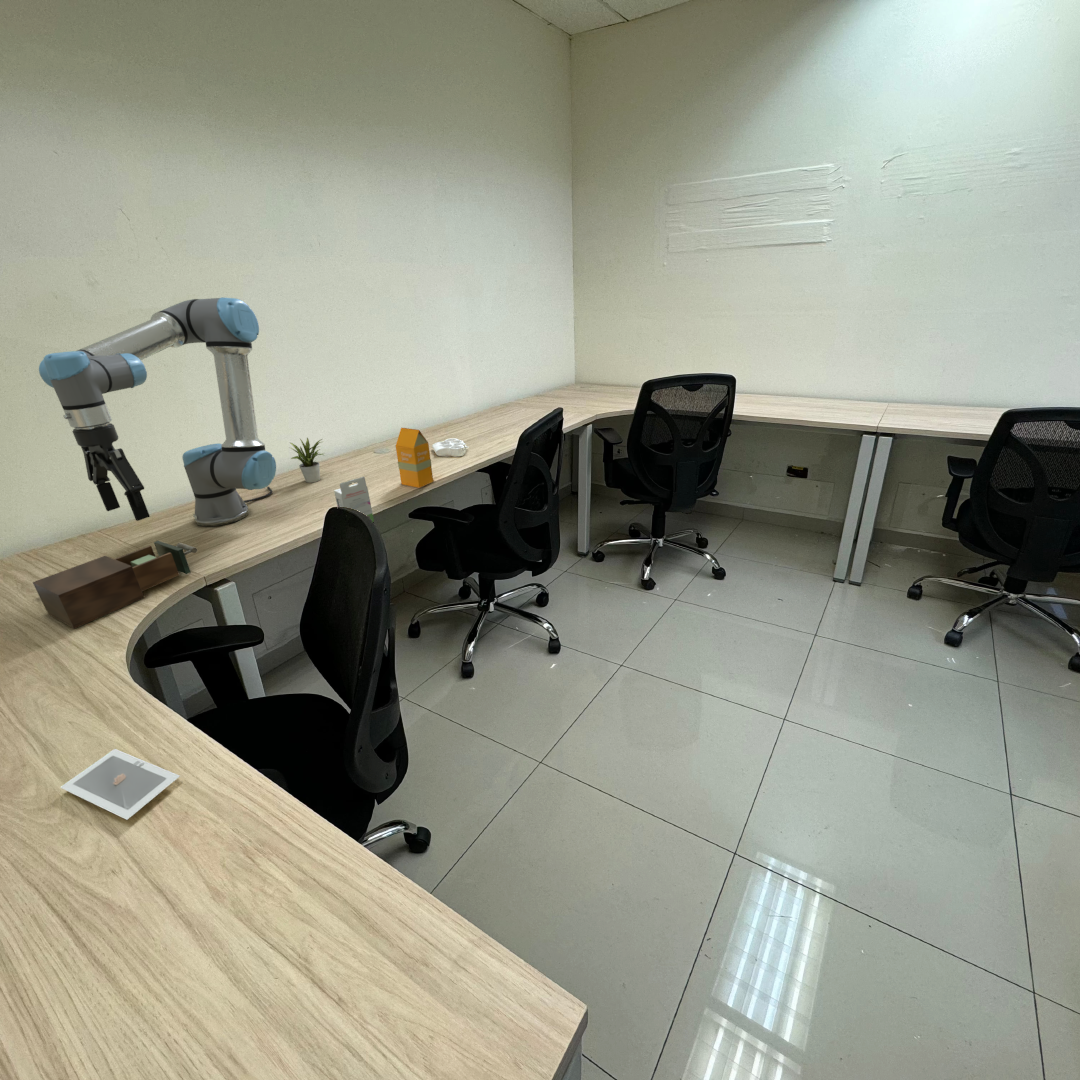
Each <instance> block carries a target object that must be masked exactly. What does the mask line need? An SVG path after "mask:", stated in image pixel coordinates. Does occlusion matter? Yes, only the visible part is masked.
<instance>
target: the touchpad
mask: <svg viewBox="0 0 1080 1080" xmlns="http://www.w3.org/2000/svg"><path fill="white" fill-rule="evenodd" d="M180 777H181V775H179V774H177V773H174V772H172V771H170V770H168V769H165V768H164V767H160V766H158V765H156V764H153V763H151V762H148V761H146V760H143V759H141V758H138V757H136V756H133V755H131V754H129V753H127V752H124V751H123V750H120V749H117V748H113V749H112V750H110V751H109V752H108V753H107V754H104V755H103V756H102V757H100V758H99V759H98V760H96V761H95V762H93V763H92V764H91V765H89V766H88V767H86V768H85V769H84V770H83V771H81V772H79V773H78V774H77V775H75V776H73V777H72V778H71V779H69V780H68V781H67V782H65V783H64V784H63V785H61V786H60V787H59V788H60V789H62V790H64V791H66V792H68V793H70V794H72V795H74V796H77V797H79V798H81V799H82V800H84V801H87V802H88V803H91V804H93V805H95V806H97V807H98V808H99V807H100V809H101V808H102V809H103V810H104V811H105V810H106V811H108V812H110V813H112V814H114V815H116V816H118V817H120V818H122V819H124V820H126V821H128V820H129V819H131V817H133V816H134V815H135V814H136V813H138V812H139V811H140V810H142V808H143V807H145V806H146V805H147V804H149V803H150V802H151V801H152V800H153V799H155V798H156V797H157V796H159V794H161V793H162V792H163V791H164V790H165V789H167V788H168V787H169V786H170V785H171V784H172V783H174V782H175V781H177V780H178V779H179V778H180Z"/></svg>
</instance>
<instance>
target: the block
mask: <svg viewBox="0 0 1080 1080" xmlns="http://www.w3.org/2000/svg"><path fill="white" fill-rule="evenodd" d="M157 557H158V556H155V557H154V556H151V555H147V556H144V557H142V558H139V559H137V560H134V561H131V564H132V567H134V566H137V565H139V564H142V563H144V562H147V561H149V560H152V559H154V558H157Z"/></svg>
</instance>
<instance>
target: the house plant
mask: <svg viewBox="0 0 1080 1080" xmlns="http://www.w3.org/2000/svg"><path fill="white" fill-rule="evenodd" d="M299 439H300V443H301V445H302V446H299V447H298V445H297V444H294V443H292V442H290V444H291V445H292V447H293V448H292V447H291V446H290V447H288V448H289V449H291V450H293V451H294V452H295V453H296V454H297V455H295V456H292V457H291V458H290V460H293V459H295V460H298V461H300V462H301V464H299V469H300V472H301V474H302V477H303V479H304V481H305V483H308V484H309V483H316V482H319V481H320V480H321V471H320V470H321V469H320V468H321V467H320V462H319V461H314V460H315V459H316V457H318V456H325V457H326V455H325V452H323V453H319V451H320V450H321V449H320V448H319V449H317V447H318V445H320V444H321V443H322V440H323V438H321V439H319V440H318V441H316V442H315V443H314V445H313V446H311V444H310V439H309V438H308V437H306V440H305V442H304V441H303V440H302V439H301V438H299Z"/></svg>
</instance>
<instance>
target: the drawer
mask: <svg viewBox="0 0 1080 1080" xmlns="http://www.w3.org/2000/svg"><path fill="white" fill-rule="evenodd" d="M153 545H154V547H155V550H156V553H157V556H156V554H155V552H154V549H153V547H152V545H147V546H145V547H142V548H139V549H136V550H134V551H131V552H129V553H126V554H124V555H123V554H122V555H121V556H117V557H115V558H114V559H115V560H117V561H120V562H122V563H125V564H128V565H130V566H132V564H131V561H134V560H137V559H139V558H142V557H144V556H147V555H151V556H154V557H157V558H154V559H152V560H149V561H147V562H144V563H142V564H139V565H137V566H134V567H132V568H133V570H134V573H135V575H136V578H137V580H138V583H139V585H140V588H141V590H142V592H143V591H146V590H148V589H151V588H152V587H155V586H158V585H161V584H162V583H165V582H167V581H169V580H172V579H174V578H176V577H178V576H180V573H182V574H184V575H189V574H190V573H192V572H191V568H190V565H189V562H188V560H187V557H186V556H187V555H190V554H197V552H198V548H197V547H195V546H192V545H190V544H189V545H188V544H187V543H182V542H177V544H176V545H173V544H171V543H167V542H164V541H161V540H156V541H153Z"/></svg>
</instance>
